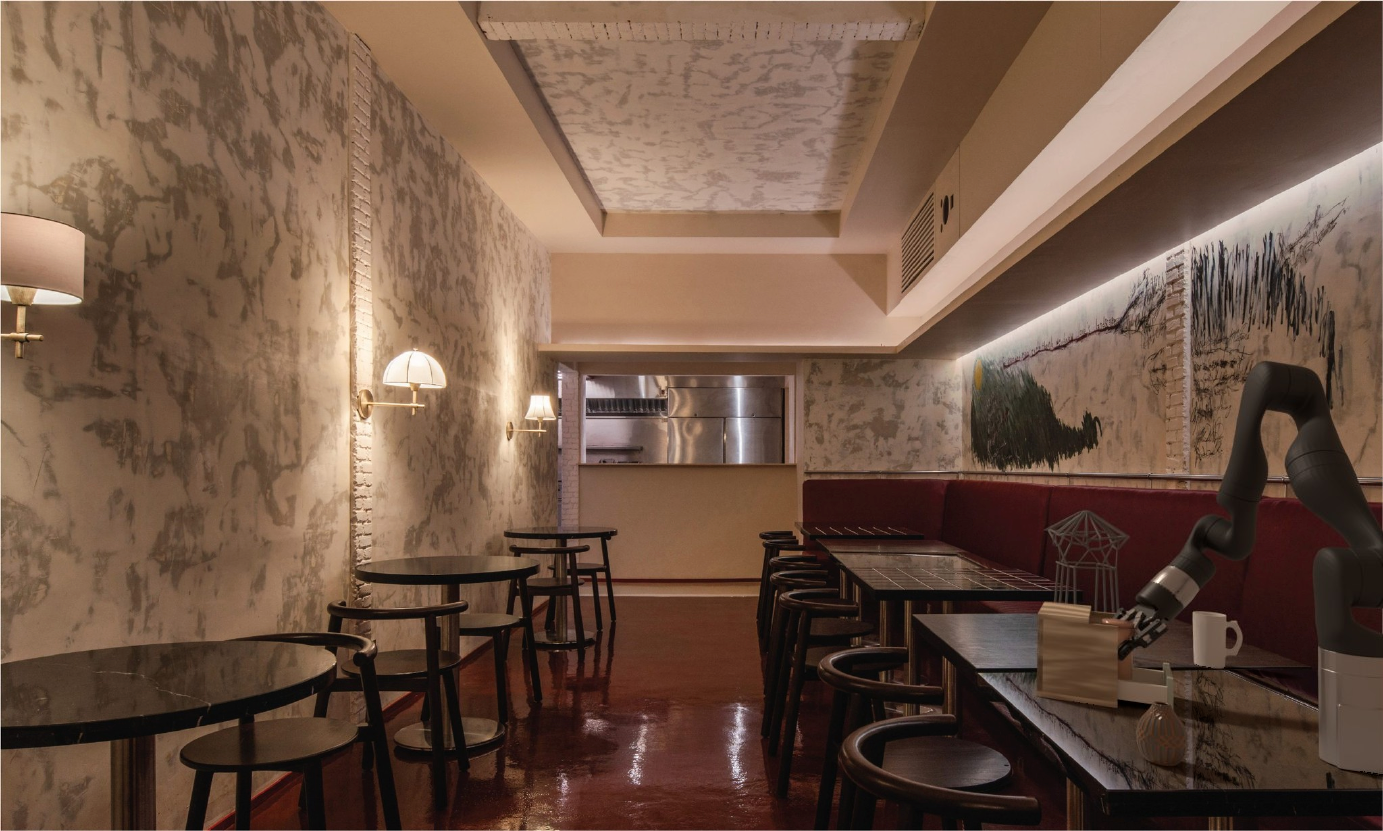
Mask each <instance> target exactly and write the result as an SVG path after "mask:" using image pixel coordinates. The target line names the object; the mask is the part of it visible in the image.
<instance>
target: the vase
mask: <svg viewBox="0 0 1383 831" xmlns="http://www.w3.org/2000/svg"><path fill="white" fill-rule="evenodd" d="M1135 730H1136V732H1135V737H1136V744H1137V746H1138V749H1139V752H1140V753H1141V755H1142V756H1143V757H1144V758H1145V760H1147V761H1148V762H1149V763H1152V764H1155V765H1159V766H1163V767H1175V766H1177V765H1179V764H1180V763H1181V762H1182V761H1183V760H1184V759H1185V757H1186V755H1187V753H1188V747H1189V736H1188V732H1187V730H1186V727H1185V725H1184V723H1183V722H1182V720H1181V719H1180V718H1179V716H1178V715H1177V714H1176V712H1175V711H1174V708H1173V709H1172V706H1171V705H1170V704H1169V703H1166V702H1160V701H1155V702H1153V703H1152V704H1150V707H1149V708H1148V709H1147V710H1146V712H1145V713H1143V714H1142V716H1141V717H1140V718H1139V721H1138V722H1137V726H1136V729H1135Z"/></svg>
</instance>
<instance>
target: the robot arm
mask: <svg viewBox="0 0 1383 831" xmlns="http://www.w3.org/2000/svg"><path fill="white" fill-rule="evenodd" d="M1266 411H1271V412H1276V413H1283V414H1287V415H1289V416H1290V417H1291V418H1292V420H1293V421H1294V423H1295V426H1296V430H1297V435H1296V436H1295V438H1294V440H1293V441H1292V443H1291V445H1290V446H1289V448H1288V450H1287V452H1286V454H1285V457H1284V469H1285V472H1286V474H1287V477H1288V480H1289V483H1290V486H1291V489H1292V491H1293V493H1294V496H1295V497H1296V499H1297V500H1298V501H1299V502H1300V503H1301V504H1302V505H1303V506H1304V507H1305V508H1306V509H1308V510H1309V512H1311V513H1313V514H1314V515H1315V516H1316V517H1318V518H1319V519H1321V521H1323V522H1324V523H1326V525H1329V527H1331V528H1332V529H1333V530H1335V531H1336V532H1337V533H1338V534H1340V536H1341V537H1342V538H1343V539H1344V540H1345V541H1346V543H1347V544H1348V546H1349V547H1342V546H1327V547H1323V548H1321V549H1319V550H1318V551H1317V553H1316V555H1315V557H1314V559H1313V564H1312V584H1313V585H1312V587H1313V597H1314V615H1315V628H1316V632H1317V643H1318V647H1317V648H1318V650H1317V651H1318V654H1317V656H1318V658H1317V659H1318V662H1317V664H1318V666H1317V667H1318V670H1317V672H1318V673H1317V677H1318V678H1317V680H1318V682H1317V683H1318V684H1317V685H1318V690H1317V691H1318V745H1319V746H1318V757H1319V759H1321V760H1322V761H1324V762H1326V763H1328V764H1331V765H1333V766H1336V767H1337V768H1339V769H1343V770H1348V771H1356V772H1360V771H1363V772H1362V773H1367V772H1371V773H1370V774H1373V772H1374V773H1378V774H1377V775H1379V774H1383V633H1382V632H1379V631H1376V630H1374V629H1371V628H1368V627H1366V626H1364V625H1362V624H1360V623H1359V622H1358V621H1356V620H1355V619H1354V616H1353V613H1352V608H1361V609H1362V608H1363V609H1375V610H1377V609H1378V610H1383V529H1382V526H1381V525H1380V524H1379V522H1378V520H1377V518H1376V516H1375V514H1374V512H1373V510H1372V509H1371V506H1370V504H1369V502H1368V500H1367V497H1366V494H1364V492H1363V489H1362V487H1361V486H1362V485H1361V484H1360V482H1359V481H1360V480H1359V478H1358V476H1357V474H1356V472H1355V469H1354V467H1353V464H1352V462H1351V460H1350V458H1349V456H1348V454H1347V451H1346V449H1345V448H1344V445H1343V444H1342V441H1341V439H1340V436H1339V434H1338V431H1337V429H1336V426H1335V423H1334V420H1333V418H1332V415H1331V411H1330V406H1329V403H1328V400H1327V397H1326V392H1325V390H1324V386H1323V383H1322V381H1321V378H1320V376H1319V375H1318V374H1317V373H1316V372H1315V371H1314V370H1313V369H1312V368H1308V367H1306V366H1303V365H1301V366H1300V365H1297V364H1290V363H1284V362H1277V361H1271V360H1261V361H1260V362H1258V363H1256V364H1254V366H1253V367H1252V368H1251V369H1250V371H1249V372H1248V374H1247V376H1246V379H1245V381H1244V385H1243V388H1242V393H1241V398H1240V403H1239V408H1238V412H1237V419H1236V423H1235V424H1236V425H1235V429H1234V436H1233V442H1232V449H1231V452H1230V457H1229V460H1228V464H1227V466H1226V469H1225V472H1224V474H1223V478H1222V480H1221V483H1220V485H1219V489H1218V491H1217V494H1216V503H1217V504H1218V505H1219V506H1220V507H1221V508H1222V509H1224V510H1225V511H1226V512H1227V513H1228V514H1229V516H1230V519H1228V518H1225V517H1223V516H1220V515H1218V514H1216V513H1215V514H1213V513H1211V514H1207V515H1204V516H1202V517H1201V518H1199V519H1197V521H1196V522H1195V524H1194V526H1193V528H1192V530H1191V533H1190V534H1189V536H1188V538H1187V541H1186V542H1185V544H1184V545H1183V548H1182V549H1181V551H1180V552H1179V554H1177V555H1176V557H1174V559H1173V560H1171V562H1169V564H1167V566H1165V568H1163V569H1162V570H1161V571H1159V572H1158V573H1156V575H1154V577H1153V578H1152V579H1150V581H1149V582H1148V583H1147V584H1146V585H1145V586H1143V588H1142V589H1141V590H1140V591H1139V592H1138V593H1136V594H1135V595H1136V596H1135V601H1136V605H1135V606H1133V607H1132V608H1131V609H1129V610H1126V609H1125V608H1123V607H1119V610H1118V611H1117V610H1116V612H1115V613H1116V614H1115V615H1114V617H1113V618H1112V619H1121V620H1128V621H1132V622H1133V623H1134V624H1133V626H1132V628H1131V632H1130V634H1129V635H1128V637H1127V640H1124V641H1123V642H1122V643H1121V644H1120V645H1119V646H1118V660H1120V661H1123V660H1124V659H1125V658H1126V657H1127V656H1128V655H1129V654H1130V653H1131V652H1132V651H1134V650H1135V649H1137V650H1138V649H1140V647H1141V648H1142V649H1147V648H1148V647H1149V646H1151V645H1152V644H1153V643H1155V641H1157V640H1158V639H1159V638H1160V637H1162V636H1163V635H1165V634H1166V633H1167V632H1168V631H1169V628H1168V626H1167V625H1166V624H1168V625H1169V623H1171V622H1172V621H1173V620H1174V619H1175V618H1177V616H1178V615H1179V614H1180V613H1181V612H1182V611H1183V610H1184V609H1185V608H1186V607H1188V605H1189V604H1190V603H1191V602H1192V600H1194V598H1195V597H1196V595H1197V594H1198V592H1199V591H1200V590H1201V589H1202V588H1204V587H1205V585H1206V584H1207V583H1208V582H1209V581H1210V580H1211V579H1212V578H1213V577H1215V576H1214V575H1216V572H1217V567H1216V564H1215V563H1214V561H1213V560H1211V558H1210V557H1208V556H1207V555H1206V554H1205V552H1206V551H1207V550H1209V551H1212V552H1214V553H1216V554H1217V555H1219V556H1222V557H1223V558H1226V559H1227V560H1229V561H1232V562H1233V561H1234V562H1239V561H1242V560H1245V559H1246V558H1247V557H1249V556H1250V555H1251V553H1252V552H1253V550H1254V548H1255V544H1256V542H1257V541H1256V539H1257V519H1258V517H1257V516H1258V507H1259V505H1260V501H1261V498H1262V495H1263V493H1264V491H1265V488H1266V486H1267V482H1268V478H1269V463H1268V458H1267V455H1266V451H1265V447H1264V445H1263V444H1264V443H1263V440H1262V431H1261V430H1262V422H1263V419H1264V416H1265V414H1266ZM1364 771H1365V772H1364Z"/></svg>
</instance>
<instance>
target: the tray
mask: <svg viewBox="0 0 1383 831" xmlns="http://www.w3.org/2000/svg"><path fill="white" fill-rule="evenodd" d="M1117 700H1122V701H1129V702H1136V703H1143V704H1149V705H1152V703H1153V702H1155V701H1160V702H1166V703H1169V704H1170V705H1171V706H1172V709H1173V710H1174V676H1173V673H1172V669H1171V666H1170V663H1169V662H1162V670H1157V669H1151V668H1150V669H1148V668H1140V667H1134V666H1133V679H1131V680H1119V679H1118V680H1117Z"/></svg>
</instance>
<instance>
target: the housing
mask: <svg viewBox="0 0 1383 831" xmlns="http://www.w3.org/2000/svg"><path fill="white" fill-rule="evenodd" d="M1116 613H1117V612H1115V613H1112V612H1107V613H1106V612H1104V611H1097V612H1096V611H1095V610H1094V611H1093V610H1092V606H1091V605H1083V604H1082V605H1081V604H1076V605H1074V603H1068V604H1065V602H1061V603H1059V602H1056V603H1054V601H1053V602H1052V601H1044V602H1043V603H1042V606H1041V607H1040V608H1039V611H1038V612H1037V641H1036V642H1037V645H1036V646H1037V650H1036V651H1037V653H1036V654H1037V655H1036V658H1037V659H1036V661H1037V662H1036V666H1037V667H1036V697H1039V698H1046V699H1053V700H1059V701H1060V700H1061V701H1066V702H1073V701H1074V703H1079V702H1080V703H1081V704H1086V703H1088V704H1087V705H1093V704H1094V705H1095V706H1100V707H1101V706H1102V707H1109V708H1116V709H1118V699H1117V680H1118V626H1112V625H1103V624H1102V619H1112V618H1113V617H1114V615H1115V614H1116Z"/></svg>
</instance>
